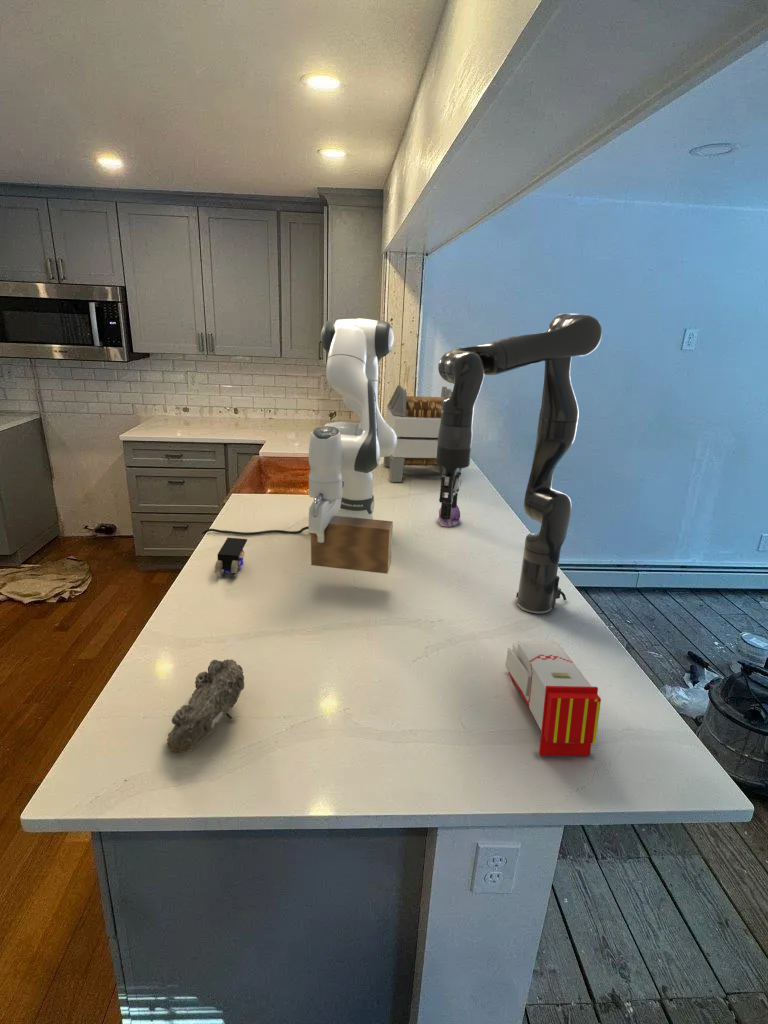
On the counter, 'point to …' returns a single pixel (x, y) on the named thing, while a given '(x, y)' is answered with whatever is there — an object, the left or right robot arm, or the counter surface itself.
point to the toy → (556, 697)
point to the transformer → (414, 431)
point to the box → (354, 545)
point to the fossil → (206, 705)
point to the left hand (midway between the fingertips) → (325, 536)
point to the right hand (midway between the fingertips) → (448, 512)
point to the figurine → (453, 519)
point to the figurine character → (230, 556)
